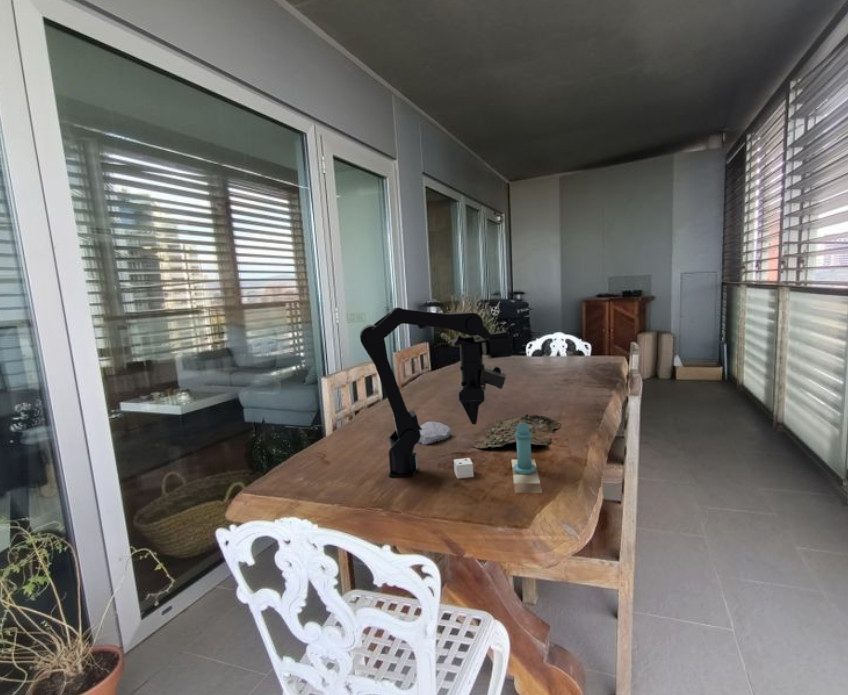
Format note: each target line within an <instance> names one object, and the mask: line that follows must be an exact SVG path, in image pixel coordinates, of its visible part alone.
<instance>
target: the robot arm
mask: <svg viewBox="0 0 848 695" xmlns="http://www.w3.org/2000/svg"><path fill="white" fill-rule="evenodd" d="M402 324H405V325H413V326H423V327H424V326H425V327H432V328H439V329H440V328H441V329H448V330H451V331H454V332H457V333H460V334H465V335H466V337H465V336H464V337H463V336H461V335H459V334H457V335H456V336H455V338H454V339H453V340H452V341H451V344H452V345H454V346H459V354H460V368H459V369H460V371H461V382H460V384H461V388H460V389H459V392H458V400H459V403H461V405H462V407H463V409H464V411H465V413H466V415H467V416H468V419H469V421H470V423H471V425H477V424H478V416H479V415H478V414H479V408H480V405H481V404H483V403H484V402H485V400H486V396H485V395H486V392H485V391H486V389H487V388H486V387H487V385H489V386H492V387H496V388H497V389H499V390H502V389H503V388H504V384H505V382H506V379H507V376H506V373H502V369H501V367H500V366H494V367H493V368H492V369H491V368H485V367H486V366H485V363H484V357H483V355H484V356H486V357H487V358H488V360H491V359H504V358H511V357H512V354H513V344H512V340H511V338H510V334H509V331H506V330H505V331H499V332H492V333H491V332H489V330H488V329H487V328H486V327H485V325H484V320H483V318H482V317H481V316H480V314H478V313H475V312H470V311H459V312H449V313H443V312H442V313H441V312H432V311H425V310H415V309H408V308H407V309H406V308H402V307H393V308H392V309H391V310H390V312H388V313H386V315H384V316H383V317H381V318H380V319H379V320H377V321H376V322H375V323H374V324H366V326H364V327H363V328H362V329H361V330H360V332H359V339H360V343H361V345H362V347H363V348H364V350H365V352H366V353H367V355H368V356H369V358H370V359H371V361H372V362H373V365H374V367H375V369H376V372H377V374H378V377H379V380H380V382H381V385H382V387H383V389H384V393H385V395H386V398H387V399H388V400H387V401H388V403H389V406H390V409H391V411H392V416H393V422H394V423H393V424H394V427H395V428H394V429H395V430H394V431H393V432H392V434H391V435H390V436H389V437H388V442H389V446H390V448H389V449H388V461H389V462H388V464H389V473H388V477H391V478H393V477H399V478H400V477H408V478H409V477H414V476H415V474H416V472H417V471H418V468H419V464H418V463H419V462H418V453H417V452H416V451H415V446H416V445H417V444H419V443H418V441H419V439H420V438H421V434H420V430H422V428H421V425H420V423H419V421H418V420H419V419H418V416H417V414H416V411H415V410H414V409H411V410H410V411H409V410H408V408H407V407H406V404H405V401H404V398H403V395H402V392H401V390H400V388H399V385H398V383H397V379H396V378H395V375H394V372H393V370H392V367H391V364H390V362H389V358H388V353H387V345H386V340H385V338H387V337H388V336H389V335H390V334H391V333H392V332H394V331H395V330H396V329H397V328H398V327H399V326H401V325H402ZM474 336H475V337H478V338H481V339H474Z"/></svg>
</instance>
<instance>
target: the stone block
mask: <svg viewBox="0 0 848 695" xmlns="http://www.w3.org/2000/svg"><path fill="white" fill-rule="evenodd" d="M420 426H421V428H422V430H420V434H421V438H420V439H419V441H418V442H419V443H418V444H420V443H422V444H421V445H424V444H426V445H425V446H428V445H427V444H429V445H431V444H434V443H433V442H435V443H437V442H436V441H438V442H441V441H444V440H447V439H449V437H450V436H451V433H452V431H451V428H450V426H448V425H446V424H444V423H442V422H438V421H426V422H425V423H423V424H421V425H420ZM446 438H447V439H446ZM443 439H444V440H443ZM440 440H441V441H440ZM430 443H431V444H430Z"/></svg>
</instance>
